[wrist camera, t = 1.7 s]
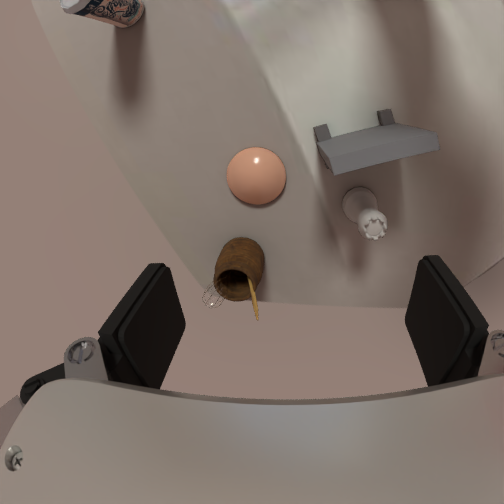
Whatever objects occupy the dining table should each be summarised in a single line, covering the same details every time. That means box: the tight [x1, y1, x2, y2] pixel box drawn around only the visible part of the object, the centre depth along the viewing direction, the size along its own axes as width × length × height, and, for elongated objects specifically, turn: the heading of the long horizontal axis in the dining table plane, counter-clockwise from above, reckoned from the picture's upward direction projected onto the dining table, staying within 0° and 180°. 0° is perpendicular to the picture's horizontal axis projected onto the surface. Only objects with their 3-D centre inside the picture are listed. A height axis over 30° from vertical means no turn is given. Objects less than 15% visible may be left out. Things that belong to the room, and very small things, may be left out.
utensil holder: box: [204, 237, 264, 320], centre depth 34 cm, size 6×6×12 cm
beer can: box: [60, 0, 144, 28], centre depth 18 cm, size 5×5×12 cm
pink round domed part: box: [227, 147, 286, 204], centre depth 33 cm, size 7×7×1 cm
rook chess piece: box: [342, 187, 388, 241], centre depth 30 cm, size 4×4×8 cm
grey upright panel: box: [313, 109, 440, 175], centre depth 24 cm, size 10×5×11 cm, turn 110°
